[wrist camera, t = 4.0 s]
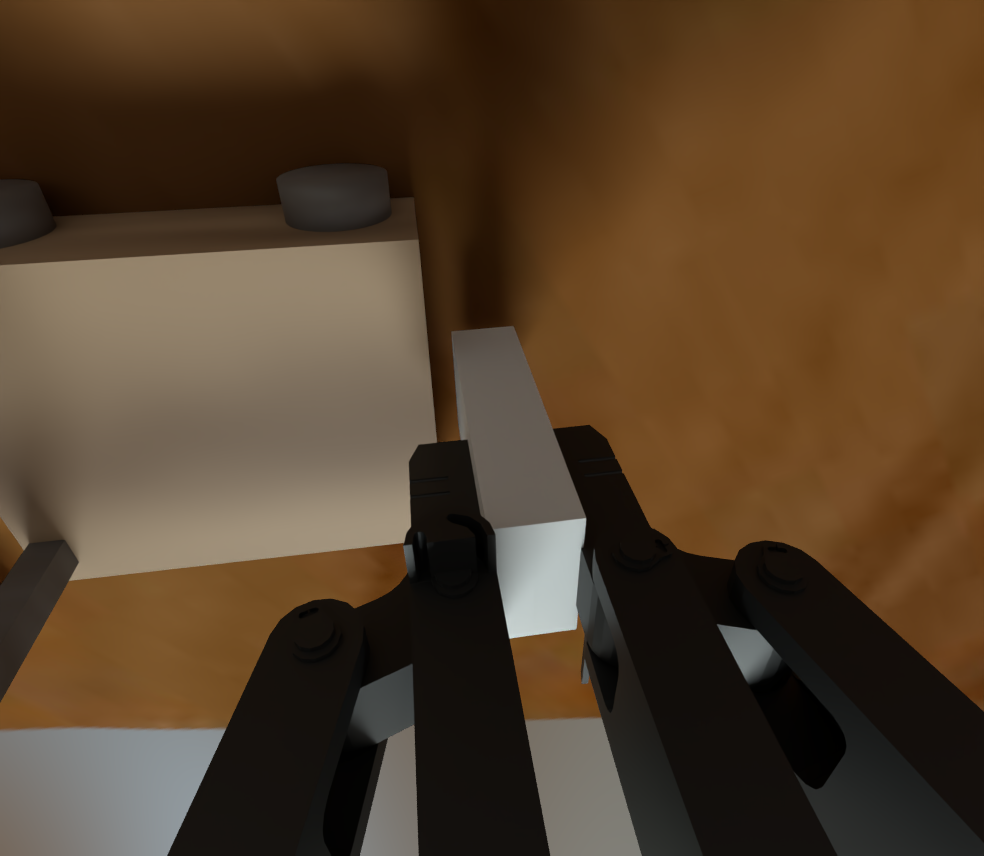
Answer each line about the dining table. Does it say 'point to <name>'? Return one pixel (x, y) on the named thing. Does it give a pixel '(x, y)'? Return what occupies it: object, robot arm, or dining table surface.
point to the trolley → (205, 384)
